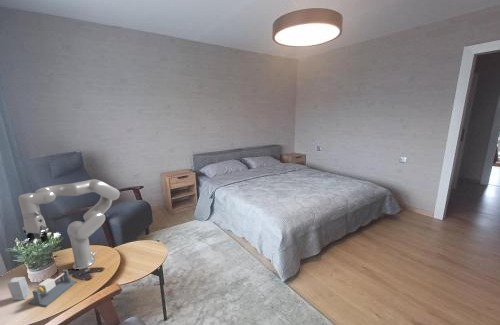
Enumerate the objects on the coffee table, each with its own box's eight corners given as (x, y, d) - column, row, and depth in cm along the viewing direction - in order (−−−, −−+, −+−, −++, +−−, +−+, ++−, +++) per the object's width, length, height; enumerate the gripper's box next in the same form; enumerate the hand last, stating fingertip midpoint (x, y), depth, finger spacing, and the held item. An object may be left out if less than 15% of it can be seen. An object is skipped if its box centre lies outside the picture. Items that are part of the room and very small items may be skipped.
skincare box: (30, 293, 130) (26, 275, 127) (23, 300, 125) (18, 281, 123) (19, 294, 129) (14, 276, 126) (12, 301, 125) (6, 282, 122)
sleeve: (49, 285, 130) (47, 278, 129) (55, 285, 129) (54, 279, 128) (40, 291, 125) (38, 284, 124) (46, 292, 124) (45, 285, 123)
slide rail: (60, 280, 140) (57, 268, 138) (76, 282, 138) (74, 270, 136) (28, 303, 123) (25, 290, 121) (46, 306, 121) (43, 293, 119)
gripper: (50, 212, 132) (56, 238, 136) (26, 210, 135) (33, 236, 138) (37, 218, 125) (43, 245, 128) (12, 216, 127) (19, 243, 131)
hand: (38, 240), depth 133 cm, fingers open, 9 cm apart
